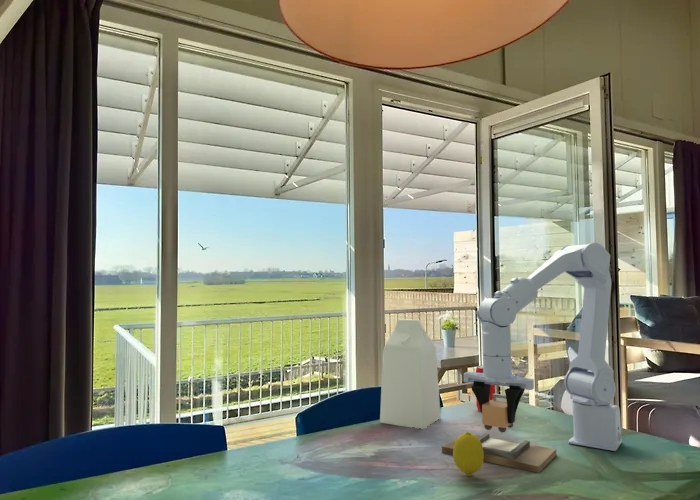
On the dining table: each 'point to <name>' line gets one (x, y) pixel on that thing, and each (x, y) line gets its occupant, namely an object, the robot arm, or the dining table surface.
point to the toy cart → (495, 414)
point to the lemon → (468, 453)
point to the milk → (409, 377)
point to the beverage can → (492, 389)
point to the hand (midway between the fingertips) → (498, 420)
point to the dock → (511, 453)
